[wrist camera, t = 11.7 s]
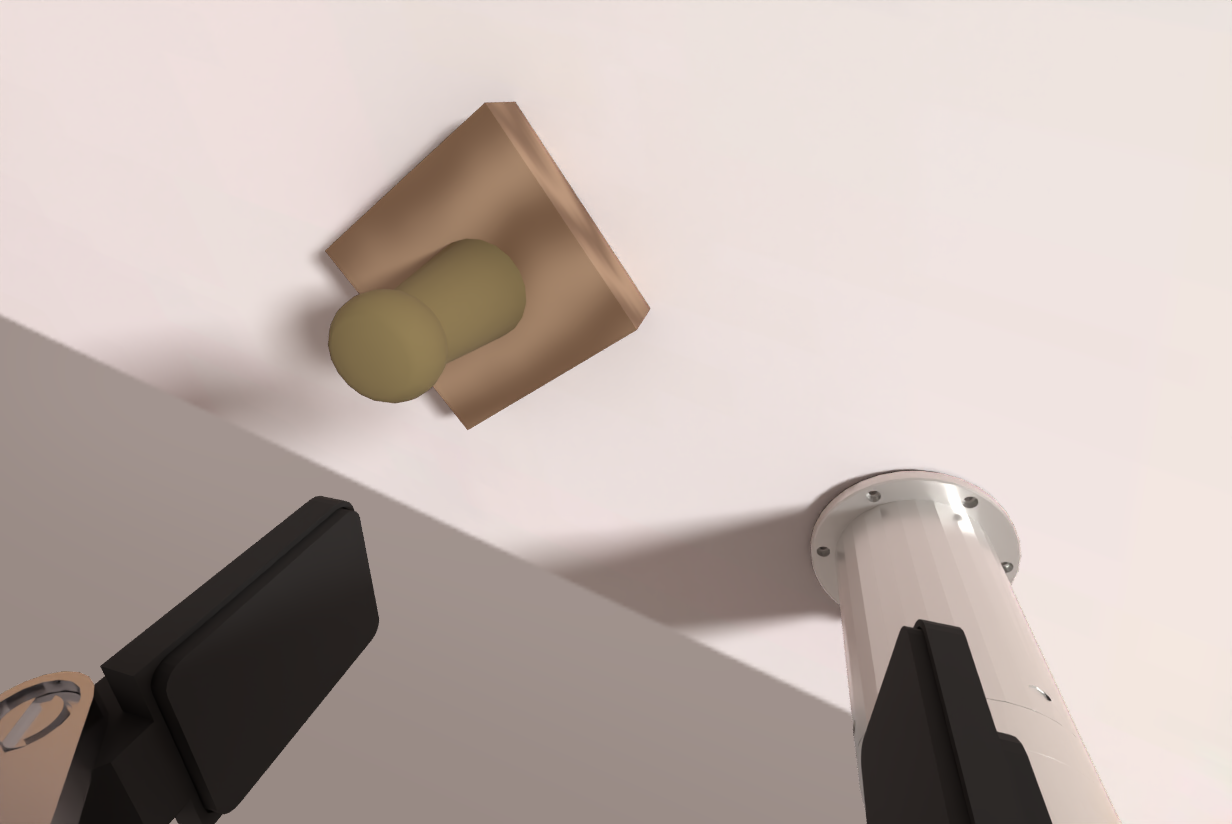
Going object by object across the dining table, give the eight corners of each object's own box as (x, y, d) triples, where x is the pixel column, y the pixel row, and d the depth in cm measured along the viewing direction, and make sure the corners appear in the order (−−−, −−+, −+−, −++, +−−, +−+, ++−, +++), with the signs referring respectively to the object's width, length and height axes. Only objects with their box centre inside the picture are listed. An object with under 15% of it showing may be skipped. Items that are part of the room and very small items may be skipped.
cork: (535, 336, 36) (446, 422, 27) (445, 341, 38) (331, 423, 28) (514, 233, 33) (407, 287, 24) (419, 243, 35) (283, 297, 26)
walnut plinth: (650, 308, 38) (636, 329, 34) (492, 404, 44) (467, 430, 40) (515, 101, 34) (484, 102, 31) (364, 237, 40) (324, 250, 37)
